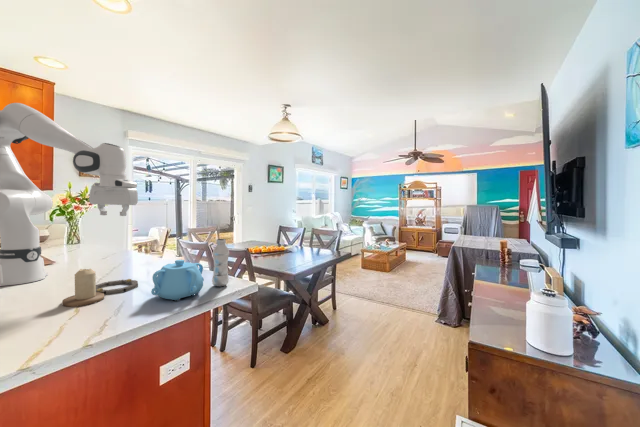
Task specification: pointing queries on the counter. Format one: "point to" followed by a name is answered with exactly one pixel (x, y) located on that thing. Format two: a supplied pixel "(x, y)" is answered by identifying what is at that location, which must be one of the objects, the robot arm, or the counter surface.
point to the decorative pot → (178, 280)
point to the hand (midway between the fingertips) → (113, 215)
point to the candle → (85, 284)
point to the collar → (100, 286)
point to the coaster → (75, 303)
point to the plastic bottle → (220, 263)
